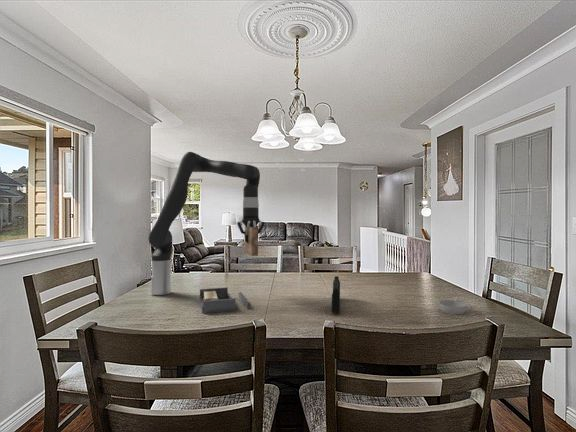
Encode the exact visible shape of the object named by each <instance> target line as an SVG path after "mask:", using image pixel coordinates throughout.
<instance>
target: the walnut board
mask: <svg viewBox="0 0 576 432" xmlns="http://www.w3.org/2000/svg"><path fill="white" fill-rule="evenodd" d="M245 227H246V226H245V225H244V229H243V230H244V232H245ZM258 229H259V227H258V226H256V227H249V230H248V243H246V241H245V235H244V234H243V235H244V242H243V243H244V244H243V245H244V253H246V254H248V255H249V256H251V257H257V256H259V234H258Z"/></svg>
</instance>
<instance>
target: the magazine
mask: <svg viewBox="0 0 576 432" xmlns="http://www.w3.org/2000/svg"><path fill="white" fill-rule="evenodd" d="M331 313H333V314H340V313H341V281H340V278H339V276H334V279H333V281H332V293H331Z"/></svg>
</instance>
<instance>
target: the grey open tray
mask: <svg viewBox="0 0 576 432" xmlns="http://www.w3.org/2000/svg"><path fill="white" fill-rule="evenodd" d="M228 290H229V289H228V287H213V288H211V287H210V288H200V289H199V295H198V301H199V304H200V309H201V313H202V314H204V315H205V314H216V313H227V312H230V313H231V312H236V310H237V304H236V298H233V297H232V296H231V295H230V293H229V291H228ZM207 291H215V292H216V294H217V297H218V300H207V301H204V302H203V298H204V292H207ZM238 298H239V299H240V301H241V302H242V304H243V305H244V306H245V308H246V309H247V310H250V309H251V306H250V305H251V304H250V303H251V302H250V301H249V300H248V299H247V298H246V296H245V295H244V293H243V292H241V291H239V292H238Z"/></svg>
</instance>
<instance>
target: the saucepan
mask: <svg viewBox="0 0 576 432" xmlns="http://www.w3.org/2000/svg"><path fill="white" fill-rule="evenodd" d="M458 299H459V296H455V297H454V298H453V300H451V299H450V300H449V299H448V300H447V299H445V300H443V299H442V300H440V301H438V307H439V309H440V310H441V312H442V313H446V314H448V315H449V314H450V315H464V314H465V313H466V311H467V309H468V304H467V303H466V302H462V301H459V300H458Z"/></svg>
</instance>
